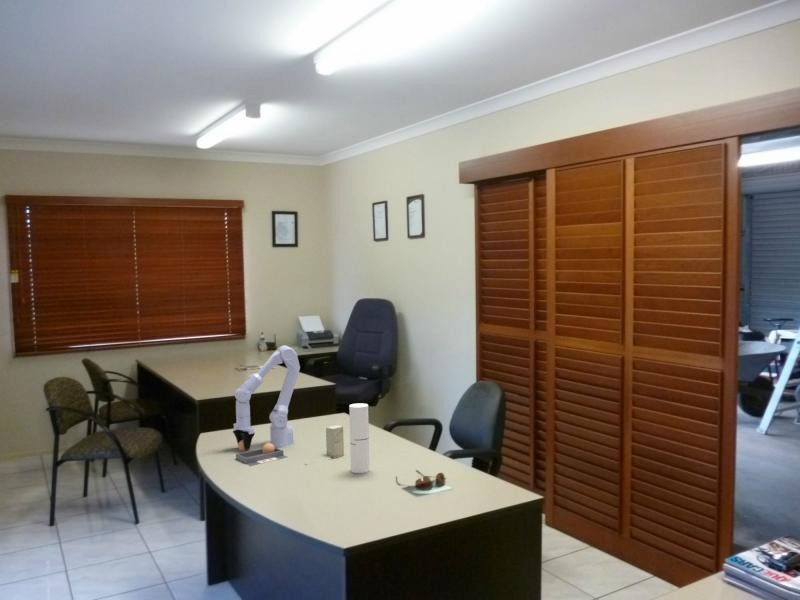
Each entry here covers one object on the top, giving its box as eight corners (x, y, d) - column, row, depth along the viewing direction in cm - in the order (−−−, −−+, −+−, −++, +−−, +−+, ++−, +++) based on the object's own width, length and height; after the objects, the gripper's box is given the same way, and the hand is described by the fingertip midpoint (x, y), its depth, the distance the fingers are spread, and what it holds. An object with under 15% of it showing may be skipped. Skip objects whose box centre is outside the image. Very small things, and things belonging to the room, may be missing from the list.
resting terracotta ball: (271, 452, 266) (270, 440, 265) (277, 455, 262) (276, 443, 262) (260, 455, 262) (259, 443, 262) (266, 457, 259) (265, 445, 258)
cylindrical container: (366, 473, 239) (365, 407, 238) (348, 472, 241) (347, 407, 240) (371, 467, 246) (370, 403, 245) (353, 466, 248) (352, 403, 247)
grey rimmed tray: (272, 452, 269) (272, 445, 269) (288, 459, 259) (288, 452, 259) (235, 461, 258) (234, 454, 258) (250, 468, 248) (250, 461, 248)
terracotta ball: (246, 449, 275) (246, 437, 275) (252, 451, 272) (252, 439, 271) (236, 451, 272) (235, 439, 272) (241, 453, 268) (241, 442, 268)
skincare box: (334, 458, 259) (333, 429, 258) (326, 457, 262) (325, 427, 261) (344, 455, 264) (343, 425, 263) (336, 453, 267) (335, 424, 266)
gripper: (226, 414, 274) (227, 446, 275) (242, 420, 263) (243, 453, 264) (241, 412, 279) (242, 442, 279) (257, 417, 268) (258, 449, 268)
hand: (244, 447), depth 272 cm, fingers closed on terracotta ball, 5 cm apart
